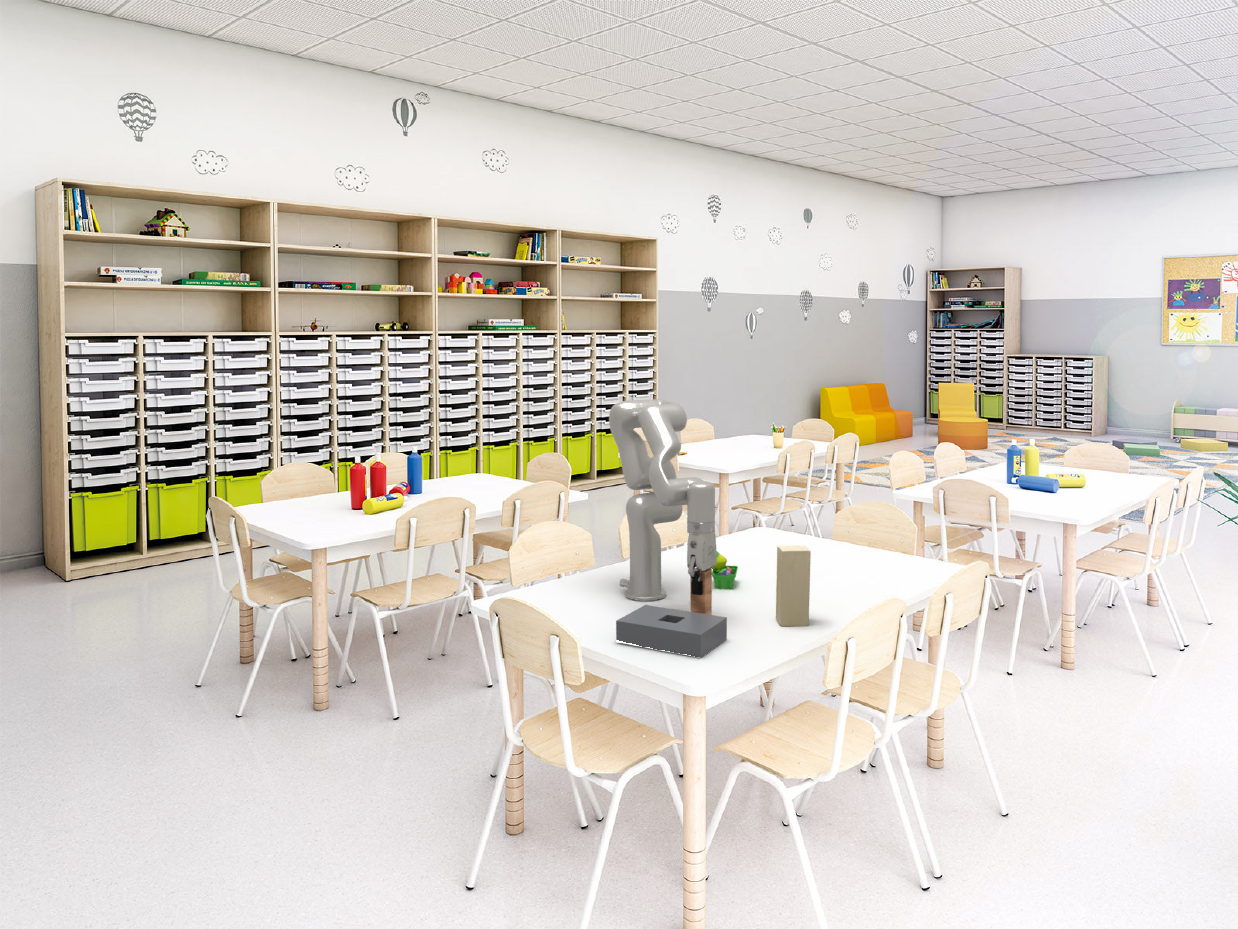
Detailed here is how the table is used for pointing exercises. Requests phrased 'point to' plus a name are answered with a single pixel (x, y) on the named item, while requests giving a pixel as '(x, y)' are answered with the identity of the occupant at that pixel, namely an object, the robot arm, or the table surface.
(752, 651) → the table surface
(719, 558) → the fruit basket
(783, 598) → the tall beige block
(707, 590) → the wooden block
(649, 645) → the grey block with hole
